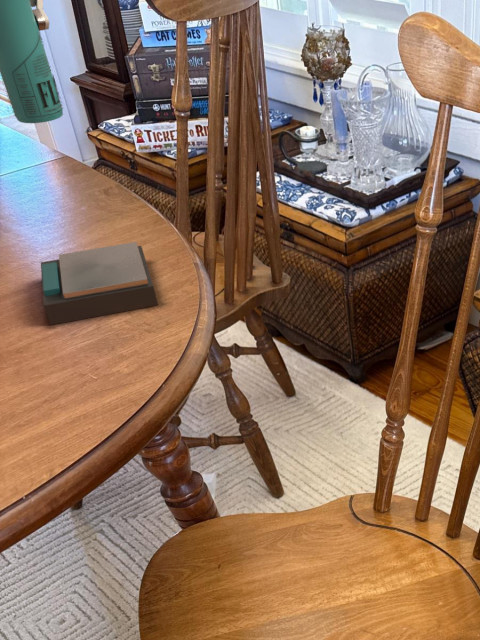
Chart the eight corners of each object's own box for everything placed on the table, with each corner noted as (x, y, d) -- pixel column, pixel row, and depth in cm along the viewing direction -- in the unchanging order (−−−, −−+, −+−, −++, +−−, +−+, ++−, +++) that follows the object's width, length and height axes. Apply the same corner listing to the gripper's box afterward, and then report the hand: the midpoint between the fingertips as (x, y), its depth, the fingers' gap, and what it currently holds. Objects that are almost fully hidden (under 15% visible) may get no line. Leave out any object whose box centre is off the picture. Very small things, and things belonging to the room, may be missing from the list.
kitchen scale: (50, 325, 95) (41, 299, 93) (47, 281, 104) (38, 256, 102) (158, 305, 98) (151, 279, 96) (146, 263, 107) (139, 239, 105)
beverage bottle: (54, 136, 104) (-3, -49, 91) (9, 135, 105) (-55, -49, 91) (77, 121, 109) (26, -57, 95) (33, 120, 110) (-24, -57, 96)
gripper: (-138, -84, 90) (-70, 27, 91) (32, -100, 100) (91, 0, 101) (-132, -40, 95) (-67, 65, 97) (29, -59, 105) (85, 36, 107)
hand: (15, 32), depth 99 cm, fingers closed on beverage bottle, 6 cm apart
